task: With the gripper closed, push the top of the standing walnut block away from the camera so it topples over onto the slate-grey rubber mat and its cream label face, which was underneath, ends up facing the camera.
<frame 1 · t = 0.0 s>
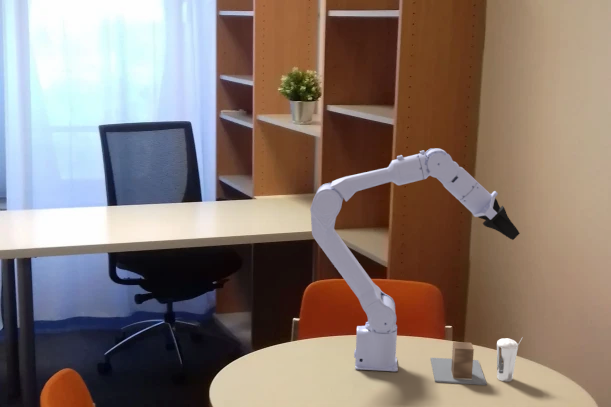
hand: (512, 232, 160), 32 cm above the table, tool tilted 50°, fingers open, 7 cm apart
milkshake: (506, 379, 162), on the table
mat: (457, 371, 165), on the table
walnut block: (461, 375, 162), resting on mat
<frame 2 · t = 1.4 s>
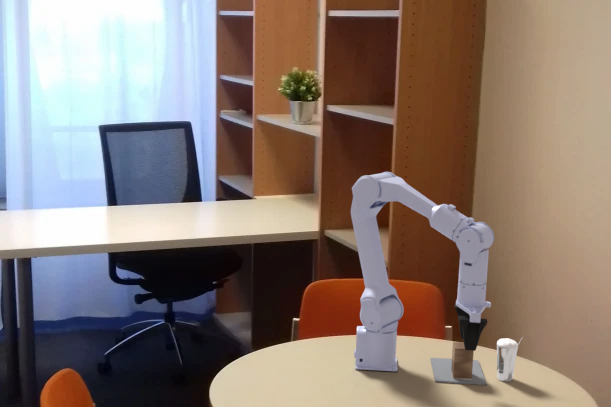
hand: (468, 344, 154), 10 cm above the table, tool pointing down, fingers open, 6 cm apart
nothing on the table moved.
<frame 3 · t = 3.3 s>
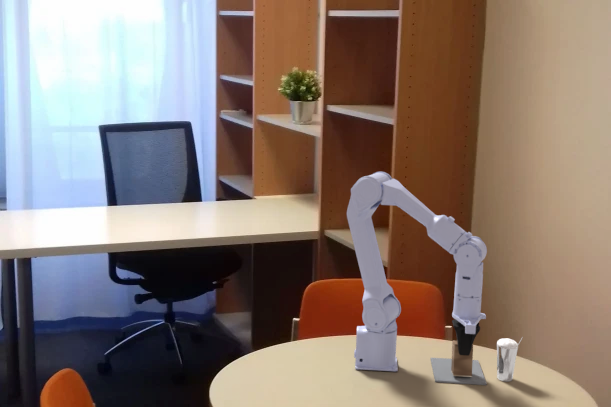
hand: (464, 354, 159), 6 cm above the table, tool pointing down, fingers closed
walnut block: (461, 374, 162), point 1 cm above the table, tilted 9°, touching mat
everything else where it was.
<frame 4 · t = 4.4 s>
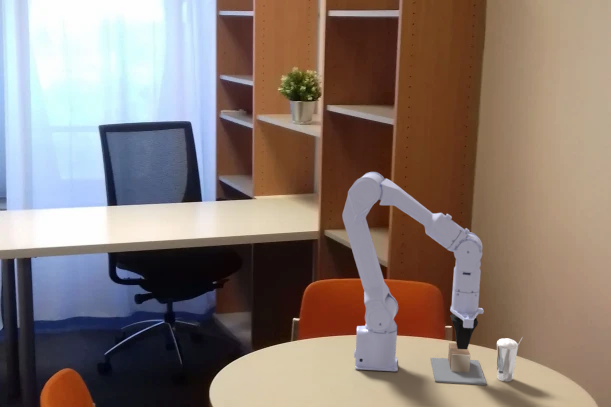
hand: (462, 348, 163), 6 cm above the table, tool pointing down, fingers closed
walnut block: (460, 363, 164), point 2 cm above the table, tilted 90°, touching mat
everything else where it was.
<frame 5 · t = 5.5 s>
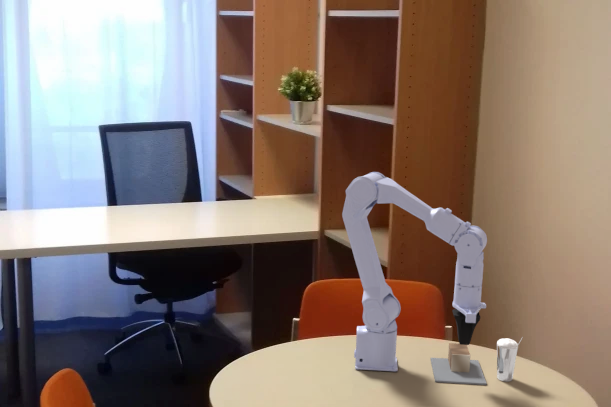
hand: (464, 343, 159), 8 cm above the table, tool pointing down, fingers closed
nothing on the table moved.
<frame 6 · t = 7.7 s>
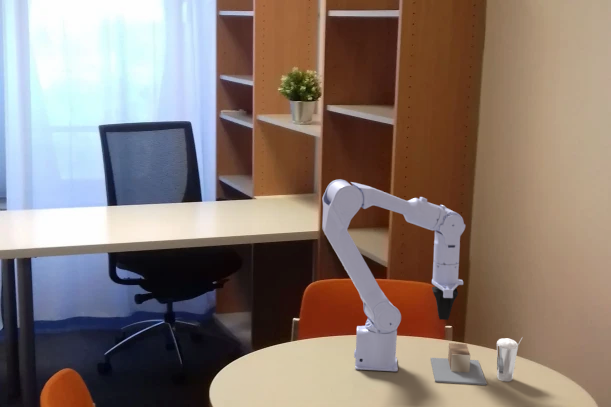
hand: (443, 318, 169), 10 cm above the table, tool pointing down, fingers closed
nothing on the table moved.
at the end: walnut block tilted 90°; walnut block inside the target area (1.0 cm from its centre), point 2.4 cm above the table; walnut block touching mat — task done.
